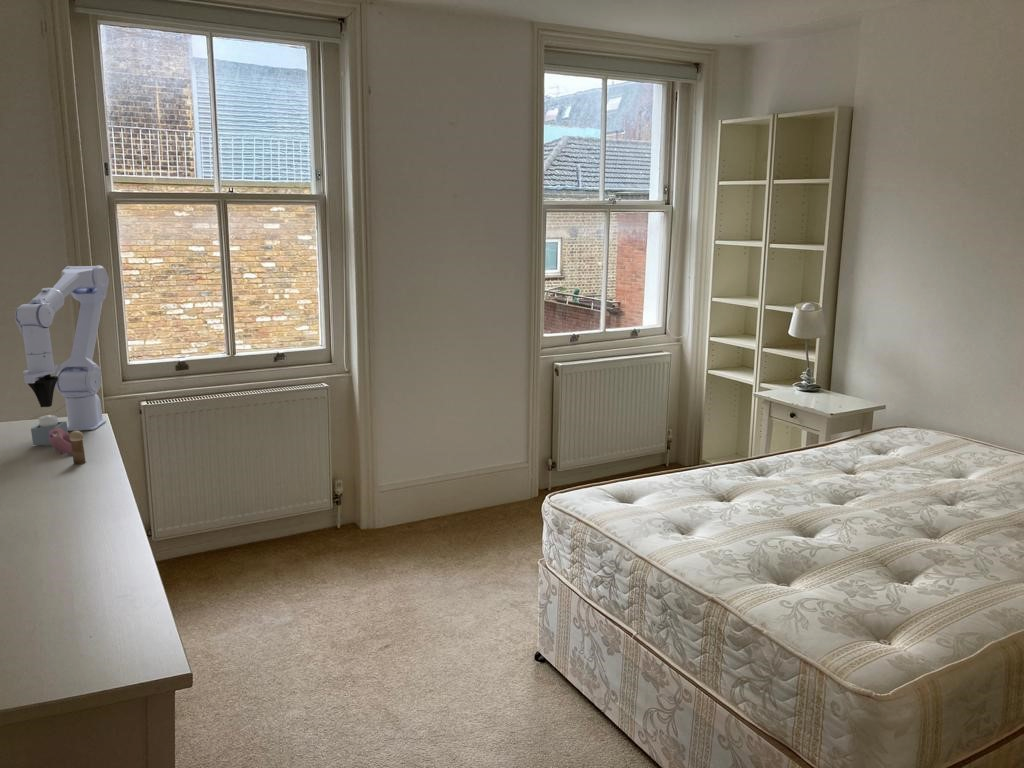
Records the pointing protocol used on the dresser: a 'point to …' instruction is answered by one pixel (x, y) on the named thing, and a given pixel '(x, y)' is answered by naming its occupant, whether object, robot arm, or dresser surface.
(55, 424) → the dome
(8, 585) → the dresser surface
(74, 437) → the post
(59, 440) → the video game controller
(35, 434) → the hollow square tube
